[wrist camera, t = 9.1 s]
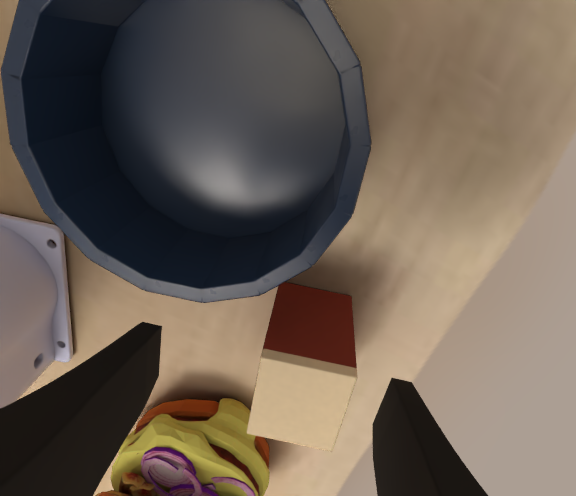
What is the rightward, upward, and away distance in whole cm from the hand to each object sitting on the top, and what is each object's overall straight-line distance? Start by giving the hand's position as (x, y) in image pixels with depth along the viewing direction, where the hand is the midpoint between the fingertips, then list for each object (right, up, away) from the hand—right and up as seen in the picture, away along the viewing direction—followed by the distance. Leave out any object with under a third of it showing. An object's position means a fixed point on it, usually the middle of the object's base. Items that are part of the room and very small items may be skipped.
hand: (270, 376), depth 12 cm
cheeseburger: (-5, -10, +16) cm, 19 cm away
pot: (-2, +10, +6) cm, 12 cm away
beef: (+2, 0, +10) cm, 11 cm away
